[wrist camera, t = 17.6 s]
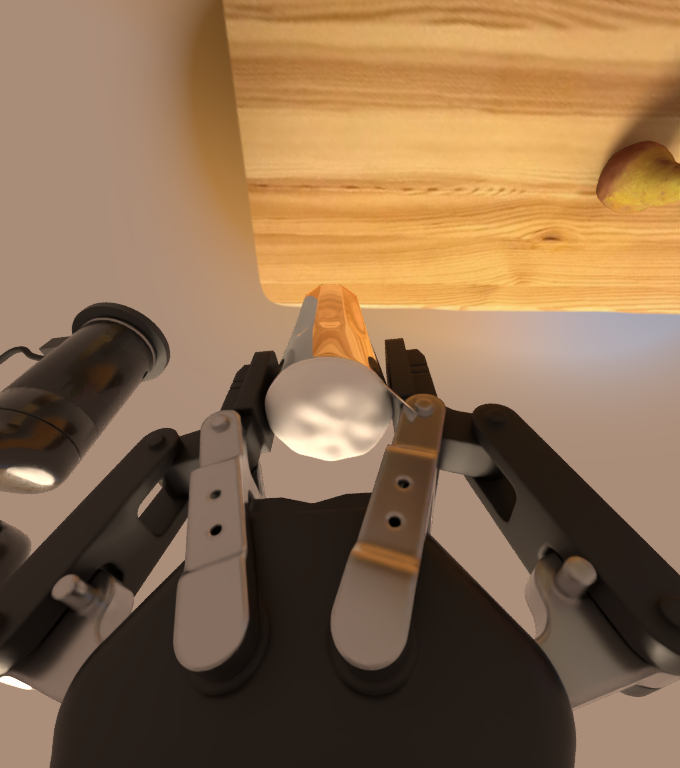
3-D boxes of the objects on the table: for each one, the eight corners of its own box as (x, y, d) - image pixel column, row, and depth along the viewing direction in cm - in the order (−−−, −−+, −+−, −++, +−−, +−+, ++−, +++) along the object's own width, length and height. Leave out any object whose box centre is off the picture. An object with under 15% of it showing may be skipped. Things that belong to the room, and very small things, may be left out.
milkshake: (401, 312, 18) (449, 456, 11) (323, 359, 20) (315, 510, 13) (355, 241, 16) (374, 359, 8) (272, 302, 18) (222, 444, 10)
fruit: (577, 210, 35) (661, 245, 26) (596, 143, 32) (702, 155, 22) (634, 203, 35) (741, 236, 25) (660, 134, 31) (796, 143, 22)
